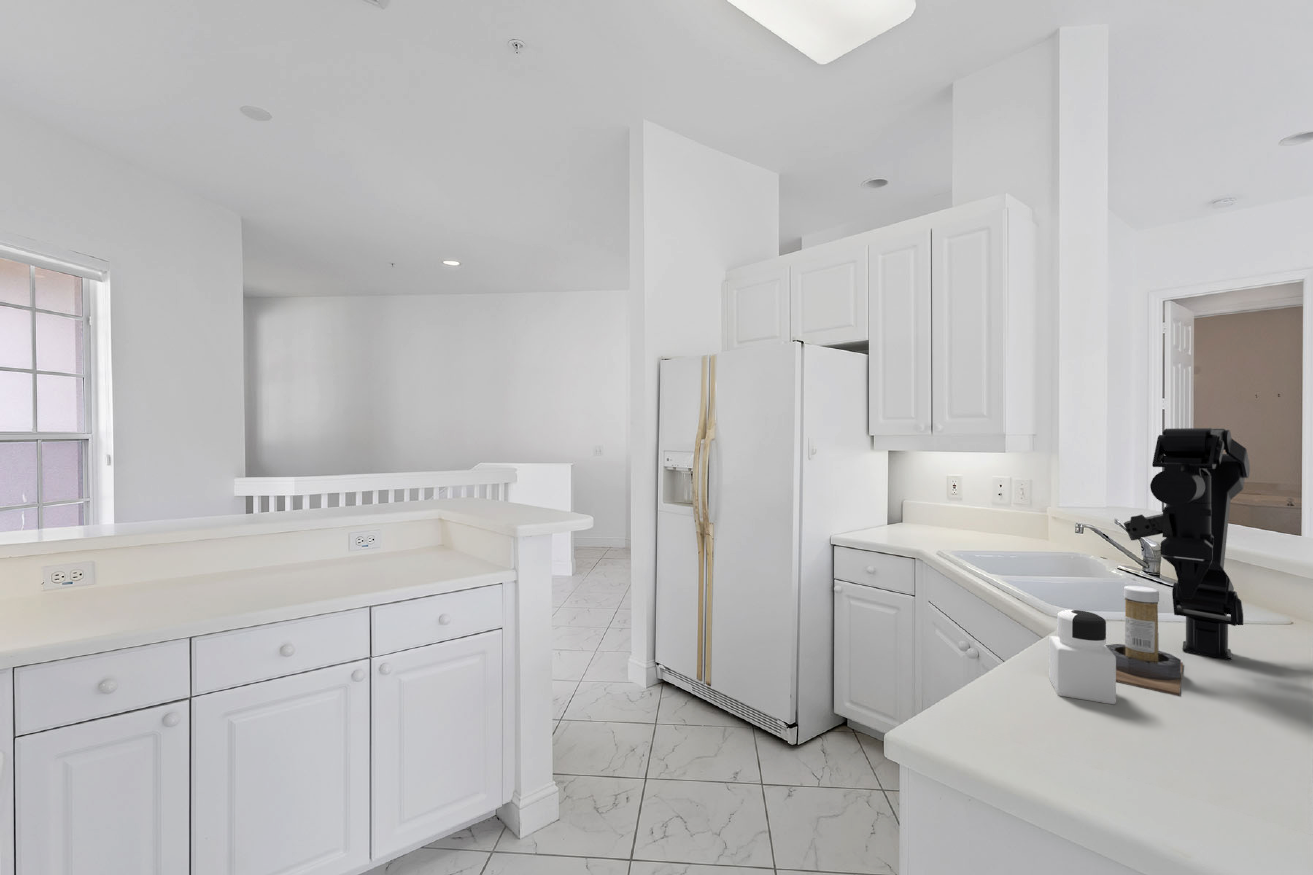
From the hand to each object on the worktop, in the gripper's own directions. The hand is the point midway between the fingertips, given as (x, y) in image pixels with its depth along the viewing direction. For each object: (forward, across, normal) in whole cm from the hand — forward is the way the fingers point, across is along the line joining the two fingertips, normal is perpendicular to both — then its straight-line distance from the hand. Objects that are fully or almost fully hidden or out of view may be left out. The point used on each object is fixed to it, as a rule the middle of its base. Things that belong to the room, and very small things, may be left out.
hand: (1188, 593), depth 100 cm
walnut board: (+13, +7, -6) cm, 16 cm away
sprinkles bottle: (+13, +7, -6) cm, 15 cm away
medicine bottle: (+13, +25, -11) cm, 30 cm away
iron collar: (+13, +7, -6) cm, 16 cm away
